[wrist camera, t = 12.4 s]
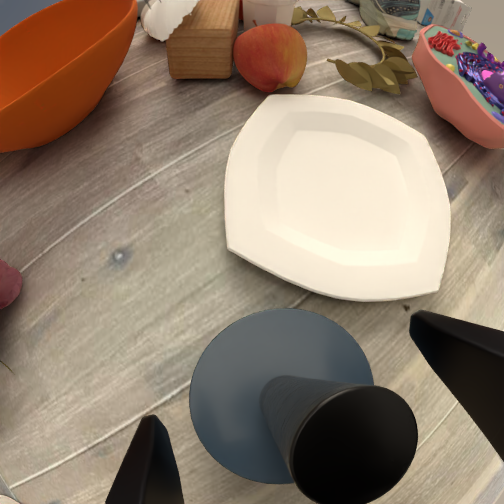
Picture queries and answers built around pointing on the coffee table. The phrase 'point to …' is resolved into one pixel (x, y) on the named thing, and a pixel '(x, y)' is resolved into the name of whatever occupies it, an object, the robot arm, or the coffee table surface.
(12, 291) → the flower
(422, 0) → the ink box
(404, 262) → the plate
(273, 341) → the lid
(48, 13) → the bowl
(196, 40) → the wooden block
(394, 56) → the headpiece
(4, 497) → the mug
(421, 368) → the coffee table surface
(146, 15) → the pincushion
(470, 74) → the cell model
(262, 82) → the apple
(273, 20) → the cup
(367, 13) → the running shoe
